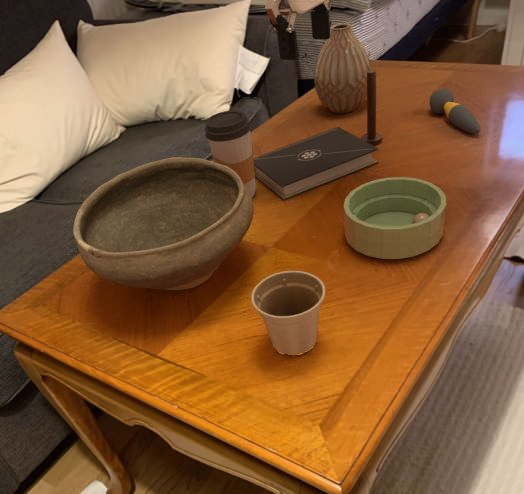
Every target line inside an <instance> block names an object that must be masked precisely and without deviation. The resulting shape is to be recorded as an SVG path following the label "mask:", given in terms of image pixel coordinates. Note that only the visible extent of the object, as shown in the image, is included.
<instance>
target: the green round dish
mask: <svg viewBox="0 0 524 494" xmlns="http://www.w3.org/2000/svg"><path fill="white" fill-rule="evenodd" d="M446 210H447V196H446V194H445V193H444V192H443V191H442V189H441V187H439V186H437V185H435V184H434V183H432V182H430V181H427V180H425V179H420V178H415V177H407V176H397V177H396V176H394V177H392V176H389V177H383V178H378V179H374V180H371V181H368V182H365V183H362V184H361V185H358V186H357V187H355V188H354V189H352V190H351V191H350V192H349V193H348V195H347V196H346V197H345V199H344V203H343V226H344V230H343V231H344V237H345V240H346V242H347V245H349V246H350V247H351V248H353V249H354V250H355V251H356V252H358V253H360V254H363V255H364V256H367V257H371V258H375V259H382V260H401V259H402V260H403V259H406V258H407V259H408V258H412V257H416V256H419V255H421V254H423V253H426V252H428V251H430V250H431V249H433V248H434V247H435V246H436V245H438V244H439V242H440V241H441V239H442V237H443V235H444V229H445V222H446V221H445V220H446V219H445V218H446V213H447V211H446ZM419 213H425V214H427V215H429V218H427V219H425V220H422V221H420V222H417V223H415V224H412V220H413V218H414V216H415V215H417V214H419Z"/></svg>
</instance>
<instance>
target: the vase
mask: <svg viewBox="0 0 524 494" xmlns="http://www.w3.org/2000/svg"><path fill="white" fill-rule="evenodd" d="M368 70H372V66H371V60H370V58H369V55H368V52H367V50H366V48H365V47H364V45H363V44H362V42H361V41H360V40H359V39H358V37H357V36H356V34H355V33H354V32H353V29H352V24H350V23H349V22H340V23H335V24H333V25H330V38H329V39H327V40H326V41H325V42H324V44H323V46H322V47H321V50H320V52H319V54H318V56H317V59H316V61H315V65H314V72H313V82H314V89H315V92H316V96H317V98H318V99H319V101H320V103H321V104H322V105H323V106H324V107H325V108H326V109H327V110H329V111H330V112H331V113H333V114H334V113H335V114H347V113H350V112H354V111H356V109H358V107H360V106H361V104H363V102H364V101H365V100H366V99H367V71H368Z"/></svg>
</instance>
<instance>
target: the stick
mask: <svg viewBox="0 0 524 494" xmlns="http://www.w3.org/2000/svg"><path fill="white" fill-rule="evenodd" d="M360 139H362V140H364V141H366V142H367V143H369V144H371V145H373V146H377V145H380V144H381V143H382V142H383V134H382V133H380V132H377V70H376V69H372V68H371V70H368V71H367V96H366V133H364V134H362V135H361V137H360Z"/></svg>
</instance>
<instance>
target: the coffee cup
mask: <svg viewBox="0 0 524 494" xmlns="http://www.w3.org/2000/svg"><path fill="white" fill-rule="evenodd" d="M251 129H252V127H251V124H250V120H249V118H248V117H247V115H246V113H245V112H244V111H241V110H238V109H237V110H235V109H234V110H224V111H220V112H217V113H214V114H212V115H210V116H209V117H208V118H207V119H206V120H205V126H204V131H205V138H206V139H207V143H208V145H209V148H210V152H211V154H212V155H211V156H212V161H213V162H216V163H218V164H221V165H225V166H227V167H229V168H231V169H232V170H234V171H235V172H236V173H237V174H238V175H239V177H240V178H241V180H242V182H243V184H244V185H245V186H246V188H247V189H248V191H249V193H250V195H251V197H252V198H254V197H255V194H256V192H257V185H256V176H255V170H254V160H253V158H254V152H253V146H252V145H253V144H252V136H251Z"/></svg>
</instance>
